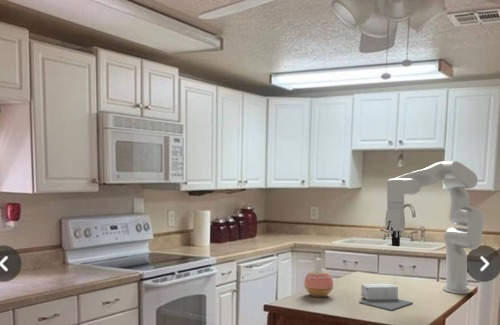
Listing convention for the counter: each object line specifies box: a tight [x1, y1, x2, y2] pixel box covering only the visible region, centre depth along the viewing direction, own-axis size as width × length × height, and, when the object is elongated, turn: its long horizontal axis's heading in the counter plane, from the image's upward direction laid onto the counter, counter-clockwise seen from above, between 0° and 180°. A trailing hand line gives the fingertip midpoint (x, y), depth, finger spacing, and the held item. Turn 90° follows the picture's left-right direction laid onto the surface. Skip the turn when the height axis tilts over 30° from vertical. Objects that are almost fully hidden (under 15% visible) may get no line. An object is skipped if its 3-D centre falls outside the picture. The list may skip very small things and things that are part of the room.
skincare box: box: [360, 283, 399, 300], centre depth 218 cm, size 8×6×15 cm
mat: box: [359, 298, 414, 312], centre depth 210 cm, size 18×16×1 cm
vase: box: [303, 257, 334, 298], centre depth 222 cm, size 14×14×18 cm
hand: (395, 245), depth 215 cm, fingers closed
